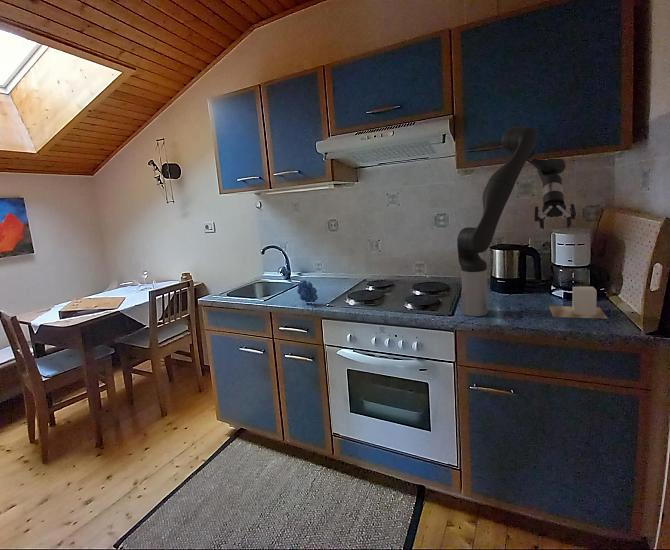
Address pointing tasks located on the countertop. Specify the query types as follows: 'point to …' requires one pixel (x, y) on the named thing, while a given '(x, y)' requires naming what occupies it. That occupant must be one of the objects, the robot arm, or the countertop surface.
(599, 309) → the board
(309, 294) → the grapes
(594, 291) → the light grey cuboid block
